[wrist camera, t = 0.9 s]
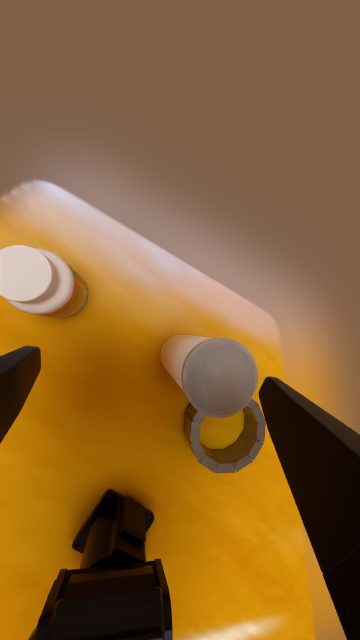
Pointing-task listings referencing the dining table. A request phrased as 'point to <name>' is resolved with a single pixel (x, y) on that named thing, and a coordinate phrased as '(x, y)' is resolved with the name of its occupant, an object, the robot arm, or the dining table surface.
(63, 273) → the supplement bottle
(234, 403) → the duct sleeve
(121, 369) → the dining table surface
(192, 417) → the collar
